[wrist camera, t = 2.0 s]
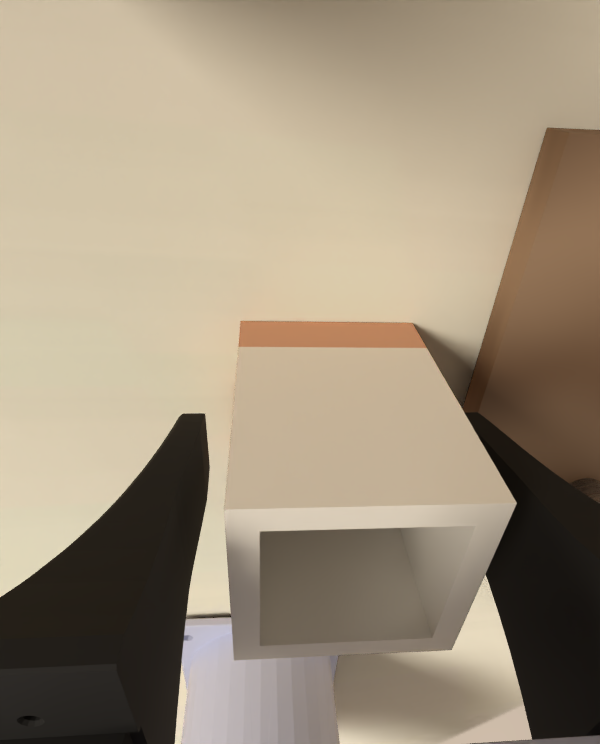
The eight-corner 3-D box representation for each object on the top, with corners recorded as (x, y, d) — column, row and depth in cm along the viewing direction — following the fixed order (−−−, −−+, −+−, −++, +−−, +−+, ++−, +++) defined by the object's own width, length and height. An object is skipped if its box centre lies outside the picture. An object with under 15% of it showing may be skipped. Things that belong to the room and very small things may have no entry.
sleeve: (386, 449, 17) (451, 649, 11) (244, 451, 17) (233, 660, 11) (412, 323, 14) (517, 503, 8) (240, 321, 14) (224, 509, 8)
